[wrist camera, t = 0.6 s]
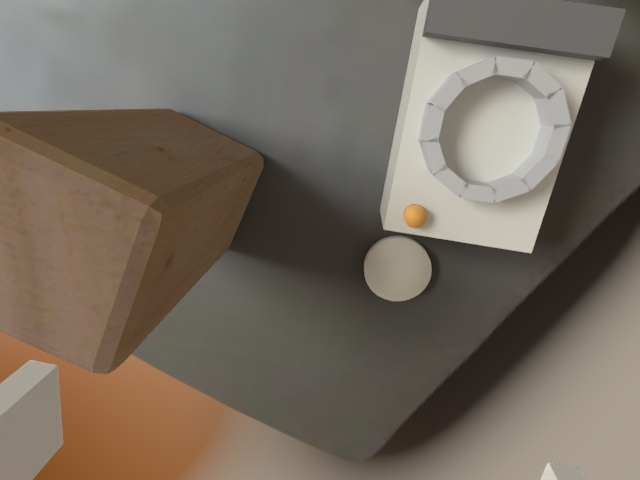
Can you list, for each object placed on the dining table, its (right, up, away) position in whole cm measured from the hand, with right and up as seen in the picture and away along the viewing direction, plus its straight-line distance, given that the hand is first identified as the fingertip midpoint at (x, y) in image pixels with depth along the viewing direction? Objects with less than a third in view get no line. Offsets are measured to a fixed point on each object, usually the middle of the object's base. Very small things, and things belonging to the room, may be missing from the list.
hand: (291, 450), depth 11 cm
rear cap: (+8, +3, +27) cm, 28 cm away
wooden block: (-10, +11, +26) cm, 30 cm away
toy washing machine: (+13, +15, +22) cm, 30 cm away
